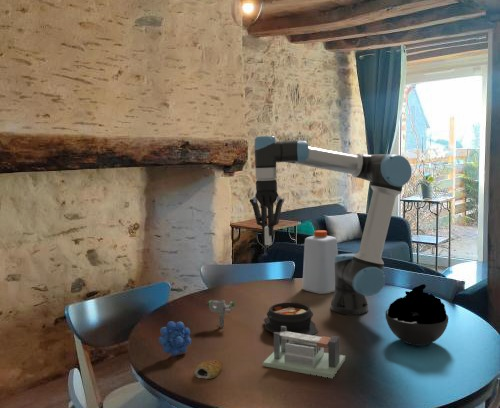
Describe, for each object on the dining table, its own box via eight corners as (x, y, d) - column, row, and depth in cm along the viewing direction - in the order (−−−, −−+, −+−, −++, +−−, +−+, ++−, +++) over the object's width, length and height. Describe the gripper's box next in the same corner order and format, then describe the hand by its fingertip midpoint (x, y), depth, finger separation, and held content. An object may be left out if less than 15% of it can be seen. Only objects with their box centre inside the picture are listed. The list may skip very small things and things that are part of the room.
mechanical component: (234, 329, 182) (233, 303, 181) (207, 327, 184) (206, 302, 183) (235, 326, 185) (235, 300, 184) (209, 325, 187) (208, 299, 186)
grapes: (165, 365, 152) (164, 328, 151) (156, 358, 158) (154, 322, 156) (198, 355, 159) (196, 319, 158) (188, 349, 164) (186, 314, 163)
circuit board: (263, 365, 150) (263, 362, 150) (280, 348, 162) (280, 345, 162) (332, 378, 140) (332, 374, 140) (345, 359, 153) (345, 355, 153)
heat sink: (271, 361, 150) (271, 335, 149) (284, 348, 160) (284, 323, 159) (332, 372, 142) (332, 344, 141) (342, 357, 152) (341, 331, 151)
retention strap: (275, 339, 152) (275, 335, 152) (281, 332, 157) (281, 329, 157) (326, 348, 145) (326, 344, 145) (332, 341, 150) (332, 337, 150)
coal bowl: (417, 360, 151) (417, 301, 149) (372, 339, 169) (373, 286, 167) (461, 347, 160) (462, 291, 158) (415, 328, 178) (415, 277, 176)
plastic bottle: (298, 289, 231) (297, 231, 228) (318, 283, 241) (318, 227, 238) (323, 296, 220) (323, 234, 217) (344, 289, 230) (343, 230, 227)
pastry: (209, 364, 152) (208, 353, 152) (227, 368, 149) (227, 356, 149) (192, 377, 144) (192, 365, 144) (212, 382, 141) (211, 369, 140)
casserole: (252, 324, 187) (252, 303, 186) (294, 316, 194) (294, 295, 193) (284, 347, 164) (284, 323, 163) (330, 337, 172) (330, 314, 171)
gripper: (286, 178, 175) (288, 243, 178) (254, 179, 181) (256, 241, 183) (279, 180, 168) (281, 247, 171) (245, 180, 174) (247, 245, 176)
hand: (268, 244), depth 177 cm, fingers closed
